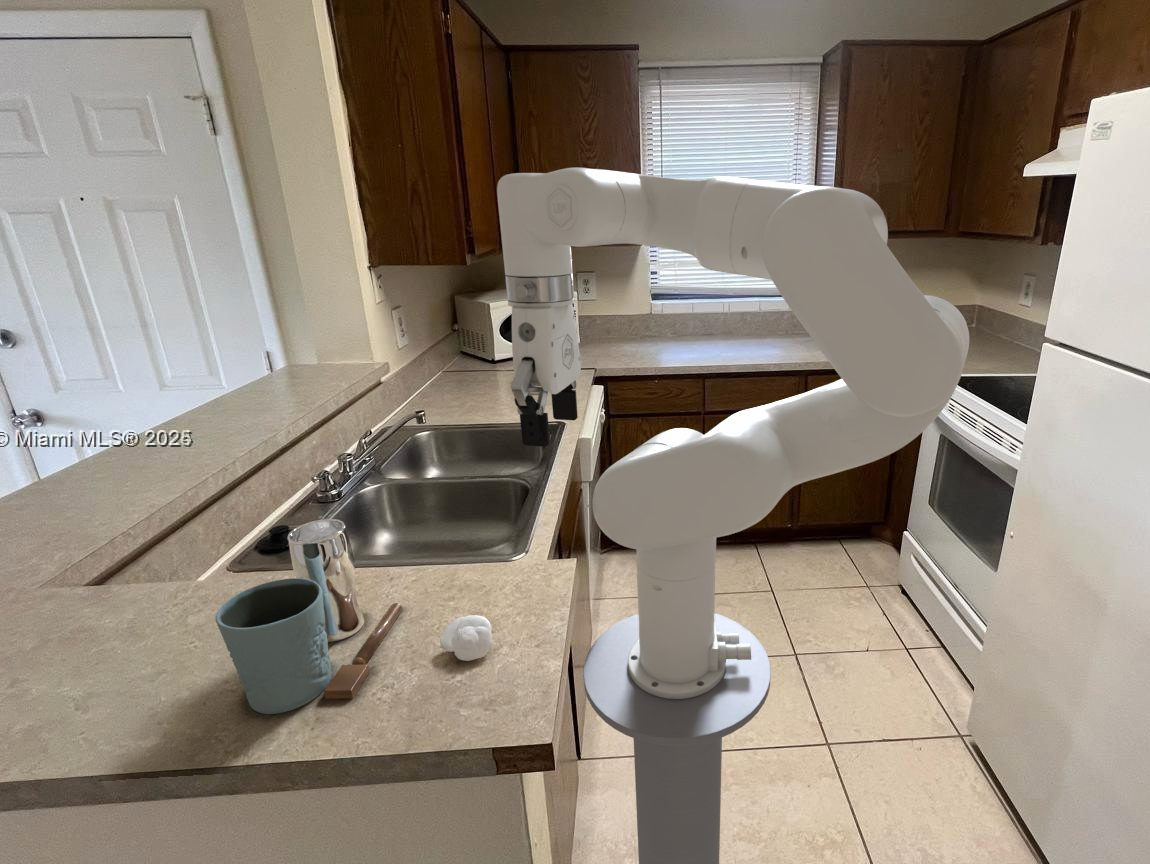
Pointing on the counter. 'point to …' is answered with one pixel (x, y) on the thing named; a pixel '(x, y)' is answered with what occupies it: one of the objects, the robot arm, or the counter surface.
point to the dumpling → (467, 637)
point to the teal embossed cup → (278, 643)
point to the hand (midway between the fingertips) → (551, 431)
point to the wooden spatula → (360, 660)
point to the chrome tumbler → (329, 572)
